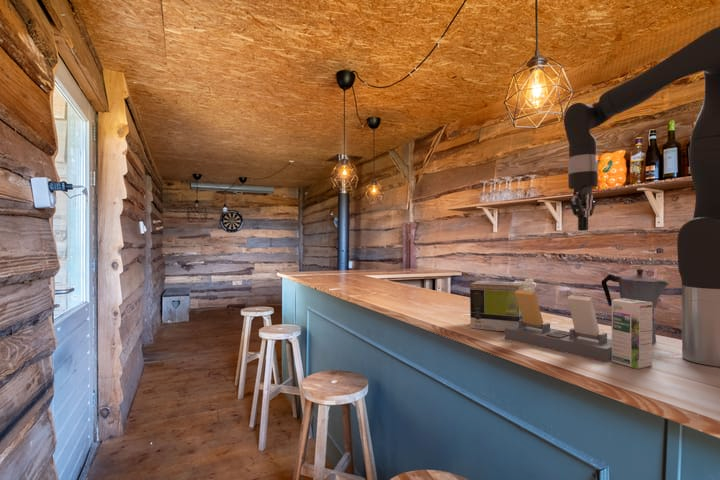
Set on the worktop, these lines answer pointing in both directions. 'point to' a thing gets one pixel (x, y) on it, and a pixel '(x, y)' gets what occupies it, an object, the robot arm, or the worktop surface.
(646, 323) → the syrup box
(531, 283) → the strainer
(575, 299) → the toggle
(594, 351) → the toggle switch base
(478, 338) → the worktop surface
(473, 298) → the tea box
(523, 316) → the toggle
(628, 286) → the moka pot
